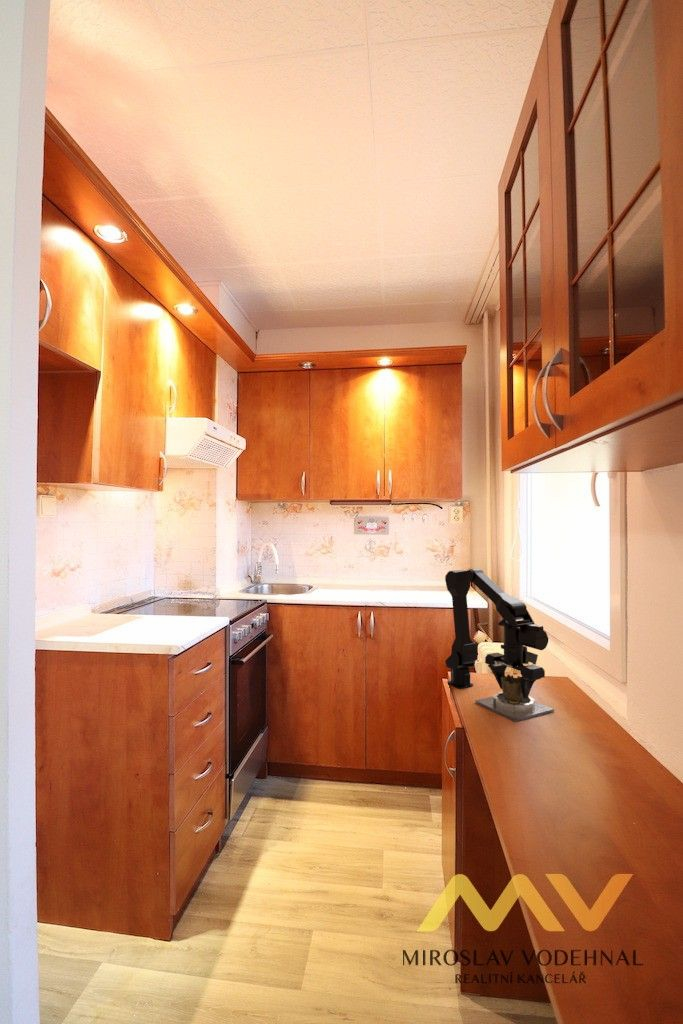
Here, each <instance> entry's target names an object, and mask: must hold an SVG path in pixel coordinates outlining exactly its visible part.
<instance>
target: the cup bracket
mask: <svg viewBox="0 0 683 1024" xmlns="http://www.w3.org/2000/svg"><path fill="white" fill-rule="evenodd" d="M507 700H508V699H507V698H506V697H505V696H504V694H503V691H499V692H495V693H494V694H493V696H489V697H485V698H480V699H476V700H474V701H475V704H477V705H479V706H480V707H483V708H485V709H487V710H490V712H491V711H492V712H493V713H496V714H497V715H500V716H502V717H504V718H506V719H508V720H510V721H512V722H514V723H518V722H521V721H524V720H529V719H533V718H536V717H540V716H544V715H547V714H551V713H554V712H555V709H554V708H552V707H550V706H547V705H545V704H542V703H541V702H538V701H535V699H534V698H533V697H532V696H530V695H528V698H527V699H524V698H523V699H522V700H520V704H512V703H508V702H507Z"/></svg>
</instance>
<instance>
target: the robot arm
mask: <svg viewBox="0 0 683 1024" xmlns="http://www.w3.org/2000/svg"><path fill="white" fill-rule="evenodd" d="M444 577H445V578H444V579H445V586H446V589H447V591H448V592H449V594H450V596H451V598H452V599H451V600H452V601H451V602H452V611H453V612H452V614H453V625H454V640H453V642H452V645H451V653H450V655H449V656H448V657H447V659H445V661H444V662H445V666H446V668H448V669H450V680H448V681H447V682H446V684H449V685H451V686H452V687H455V688H457V689H465V688H469V687H474V684H473V683H471V671H470V670H471V669H470V668H474V666H475V663H476V661H477V659H478V656H479V653H478V643H477V642H474V641H473V639H472V638H471V634H470V633H471V630H470V622H469V611H468V599H467V597H468V596H467V595H468V593H469V591H470V589H471V583H472V584H473V585H474V586H475V587H476V588H477V589H478V590H480V591H481V592H482V593H483V594H484V595H485V596H486V597H487V598H488V599H489V600H490V601H491V603H493V604H494V605H495V610H496V612H497V613H498V615H500V617H501V618H502V619H501V620H500V621H499V622H498V623H497V625H498V626H501V627H503V644H500V649H503V653H500V652H491V653H487V654H486V655H485V657H484V658H485V659H484V660H485V661H484V663H485V664H487V667H488V668H489V669H490V670H491V672H492V674H493V676H494V677H495V680H496V683H497V684H498V686H499V688H500V690H502V683H501V677H502V676H503V678H504V675H505V676H506V670H507V668H511V669H514V670H517V671H519V674H520V675H521V676H520V681H521V687H522V693H523V697H524V699H527V698H528V696H530V692H531V690H532V687H533V685H534V683H535V682H536V681H537V680H541V679H543V678H545V675H546V670H545V668H543V667H541V666H540V665H537V660H538V658H539V654H536V653H535V652H534V653H533V652H531V651H528V648H532V649H534V650H538V651H544V650H545V649H546V648H547V646H548V644H549V637H548V633H547V632H546V631H545V630H544V626H543V625H540V624H539V625H536V624H535V622H534V619H533V618H532V616H531V614H530V612H529V611H528V609H527V605H526V604H525V603H524V602H523V601H522V600H520V599H519V598H517V597H515V596H514V595H510V594H508V593H507V592H505V591H504V590H503V589H502V588H501V587H500V586H499V585H498V584H497V583H495V582H494V580H492V579H491V578H490V577H489V576H487V574H485V573H484V570H482V569H481V568H470V569H468V570H465V569H461V570H459V569H457V570H450V571H449V570H448V571H447V573H446V574H445V576H444ZM529 663H531V664H529ZM524 664H525V665H524Z"/></svg>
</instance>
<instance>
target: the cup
mask: <svg viewBox="0 0 683 1024" xmlns="http://www.w3.org/2000/svg"><path fill="white" fill-rule="evenodd" d="M520 677H521V676H518V675H517V677H514V675H513V674H511V675H510V674H507V675H506V674H505V675H504V678H503V676H502V677H501V683H502V689H501V690H502V691H503V694H504V696H505V697H506V698H507V699H508V700H507V702H508V703H512V704H520V700H522V699H523V698H524V697H523V693H522V687H521V681H520ZM502 691H501V692H502Z"/></svg>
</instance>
